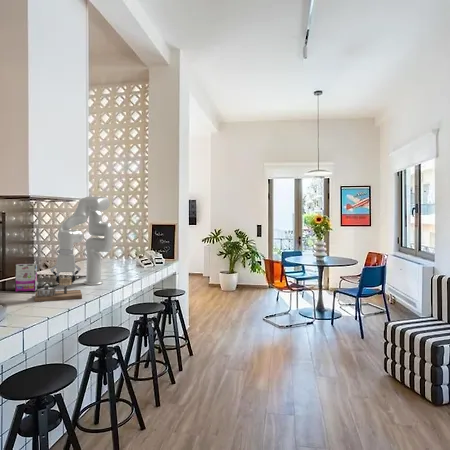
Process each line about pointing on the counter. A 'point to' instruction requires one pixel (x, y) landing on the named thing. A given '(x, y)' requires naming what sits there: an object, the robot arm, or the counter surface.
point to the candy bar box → (26, 277)
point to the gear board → (56, 294)
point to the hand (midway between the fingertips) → (65, 282)
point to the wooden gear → (65, 281)
